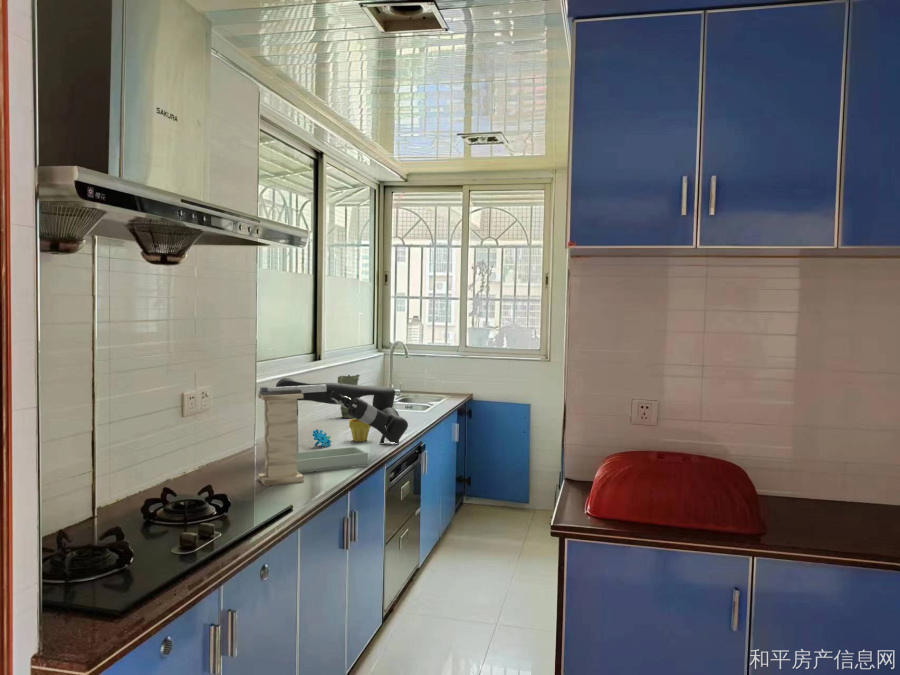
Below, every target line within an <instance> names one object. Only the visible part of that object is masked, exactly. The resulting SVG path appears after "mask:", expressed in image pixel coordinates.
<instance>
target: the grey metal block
mask: <svg viewBox="0 0 900 675" xmlns="http://www.w3.org/2000/svg"><path fill="white" fill-rule="evenodd" d="M290 390H302V393H309V392H327V385H305V386H286V387H276V386H272V387H270V386H269V387H267V386H260V390H259V391H260V394H261V395H262V392H271V391H290Z"/></svg>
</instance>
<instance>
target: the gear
mask: <svg viewBox="0 0 900 675" xmlns="http://www.w3.org/2000/svg"><path fill="white" fill-rule="evenodd" d="M323 432H324V431H323V430H322V429H320V430H319V429H314V430H313V431H312V436H313V440H314V441H316V442H315V443H314V446H315V445H317V446H318V445H320V446H321V447H325V448H328V447H330V446H331V445H332V444H331V443H332V440H331V438H332V437H331V435H328V434H327V432H324V433H323ZM327 435H328V436H327Z"/></svg>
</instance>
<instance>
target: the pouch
mask: <svg viewBox="0 0 900 675" xmlns="http://www.w3.org/2000/svg"><path fill="white" fill-rule="evenodd" d="M360 376H361V375H360V374H355V375H350V374H348V375H339V376H337V383H341V384H349V385H358V382H359V378H360ZM339 409H340V412H341V413H340V414H341V418H342V419H355V418H354V417H352V416H350V415H348V409H347V408H345V407H343V406H341V405H340V408H339Z"/></svg>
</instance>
